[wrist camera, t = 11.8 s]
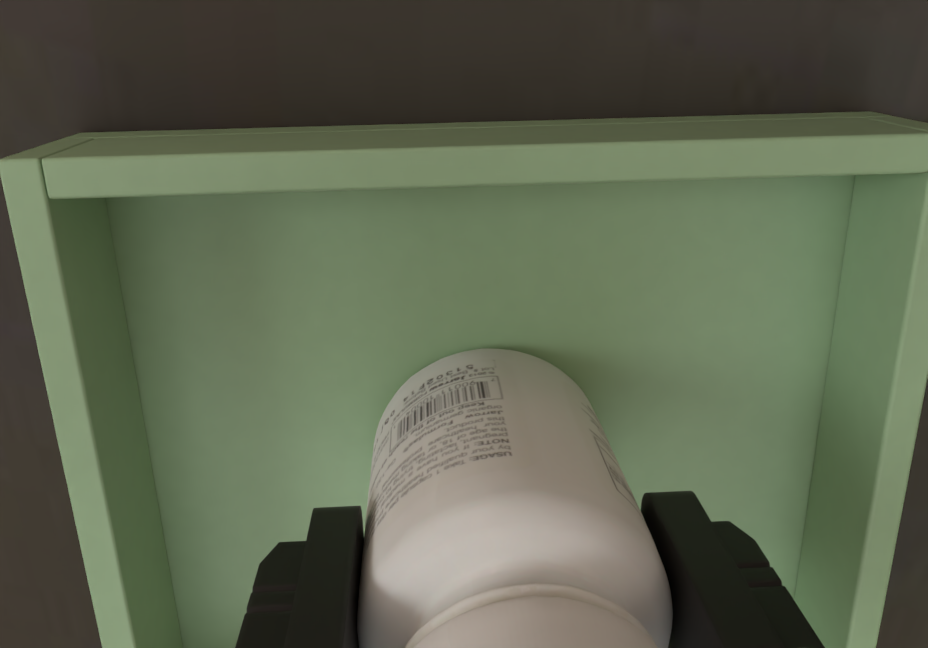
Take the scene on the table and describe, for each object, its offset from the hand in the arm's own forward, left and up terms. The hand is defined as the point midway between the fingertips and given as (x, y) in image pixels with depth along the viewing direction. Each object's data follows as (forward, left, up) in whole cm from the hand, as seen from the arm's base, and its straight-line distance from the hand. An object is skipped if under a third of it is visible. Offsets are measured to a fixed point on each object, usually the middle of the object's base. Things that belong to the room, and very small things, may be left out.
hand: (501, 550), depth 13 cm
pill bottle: (0, 0, -3) cm, 3 cm away
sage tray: (0, 0, -4) cm, 4 cm away
